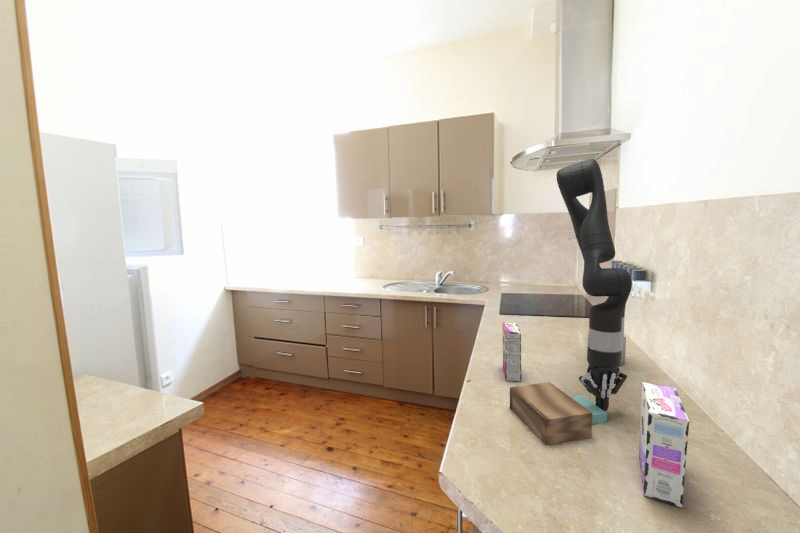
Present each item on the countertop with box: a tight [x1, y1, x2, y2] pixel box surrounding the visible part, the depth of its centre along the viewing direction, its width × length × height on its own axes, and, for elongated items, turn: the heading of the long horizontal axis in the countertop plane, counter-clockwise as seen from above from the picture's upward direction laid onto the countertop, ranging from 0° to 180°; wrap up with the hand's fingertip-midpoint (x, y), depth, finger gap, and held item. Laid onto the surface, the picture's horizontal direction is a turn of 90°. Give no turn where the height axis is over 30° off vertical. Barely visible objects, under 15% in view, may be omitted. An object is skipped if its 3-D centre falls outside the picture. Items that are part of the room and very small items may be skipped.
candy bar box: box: [501, 321, 522, 383], centre depth 112 cm, size 11×5×16 cm, turn 168°
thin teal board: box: [570, 395, 608, 425], centre depth 88 cm, size 16×9×3 cm, turn 99°
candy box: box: [638, 381, 690, 508], centre depth 65 cm, size 14×6×16 cm, turn 148°
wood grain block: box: [509, 381, 593, 445], centre depth 85 cm, size 12×16×6 cm
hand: (601, 409), depth 88 cm, fingers closed
